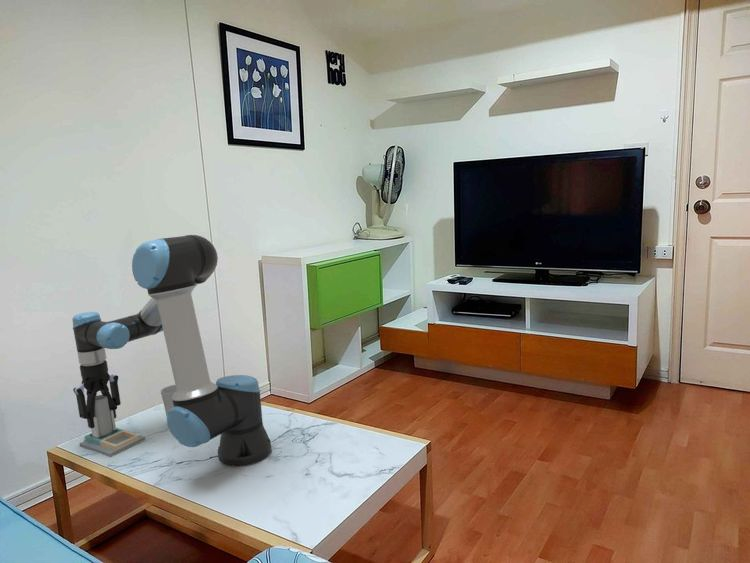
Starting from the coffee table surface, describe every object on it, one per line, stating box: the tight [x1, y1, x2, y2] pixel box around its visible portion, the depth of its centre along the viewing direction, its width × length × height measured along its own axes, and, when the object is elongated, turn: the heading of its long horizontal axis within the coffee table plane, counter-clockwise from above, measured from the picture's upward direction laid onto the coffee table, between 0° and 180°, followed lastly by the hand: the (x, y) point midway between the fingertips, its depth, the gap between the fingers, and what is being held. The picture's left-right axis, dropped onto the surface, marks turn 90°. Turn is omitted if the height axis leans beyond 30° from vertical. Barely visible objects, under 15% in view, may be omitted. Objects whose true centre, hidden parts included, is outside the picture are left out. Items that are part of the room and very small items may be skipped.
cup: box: [160, 384, 177, 417], centre depth 180 cm, size 8×8×12 cm
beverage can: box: [94, 394, 112, 436], centre depth 169 cm, size 5×5×12 cm
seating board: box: [78, 427, 147, 458], centre depth 168 cm, size 16×12×2 cm
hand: (104, 432), depth 170 cm, fingers closed on beverage can, 5 cm apart
